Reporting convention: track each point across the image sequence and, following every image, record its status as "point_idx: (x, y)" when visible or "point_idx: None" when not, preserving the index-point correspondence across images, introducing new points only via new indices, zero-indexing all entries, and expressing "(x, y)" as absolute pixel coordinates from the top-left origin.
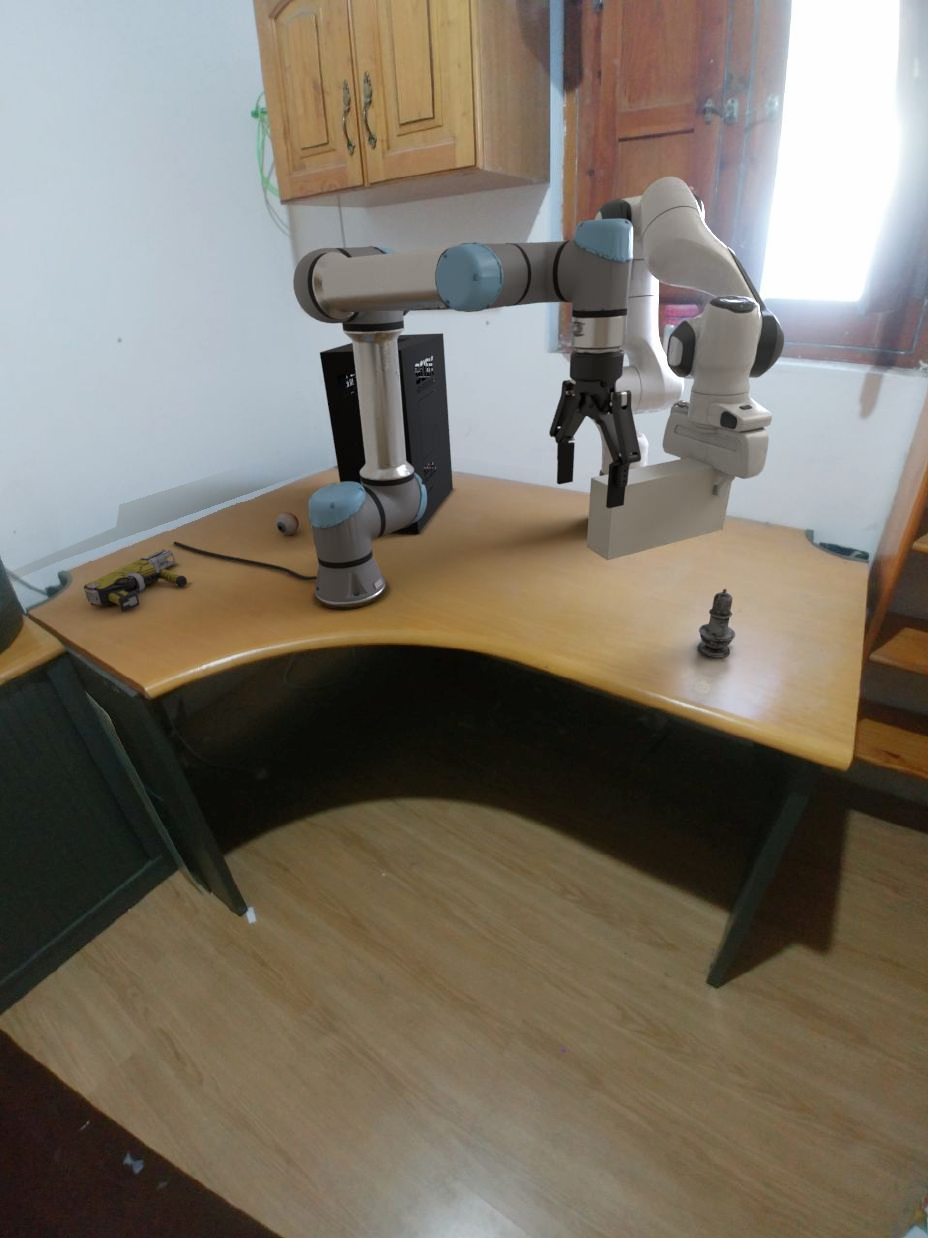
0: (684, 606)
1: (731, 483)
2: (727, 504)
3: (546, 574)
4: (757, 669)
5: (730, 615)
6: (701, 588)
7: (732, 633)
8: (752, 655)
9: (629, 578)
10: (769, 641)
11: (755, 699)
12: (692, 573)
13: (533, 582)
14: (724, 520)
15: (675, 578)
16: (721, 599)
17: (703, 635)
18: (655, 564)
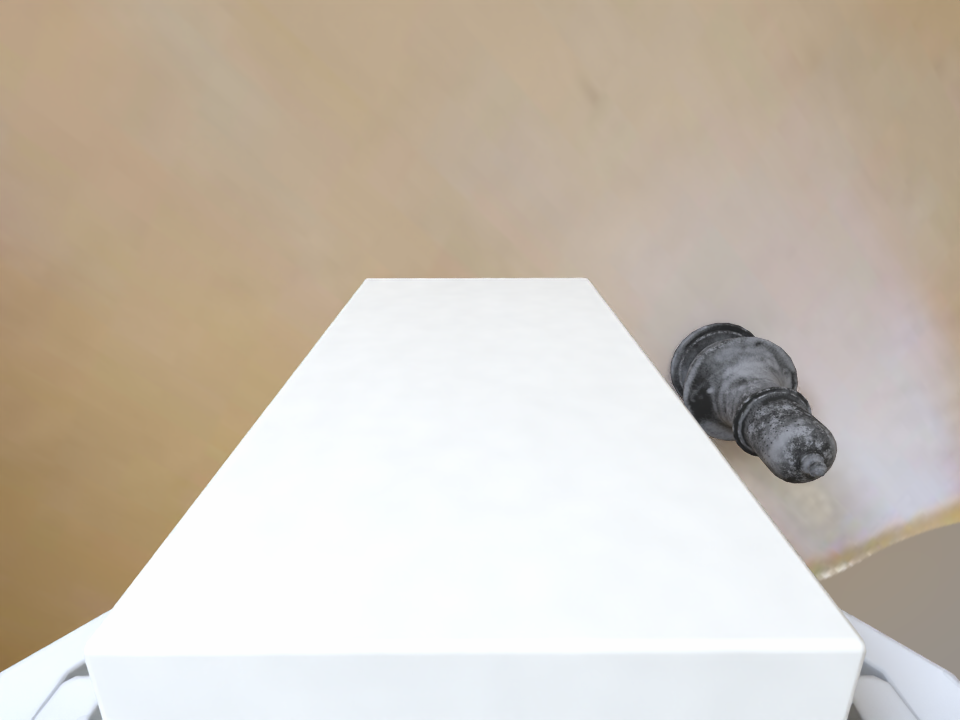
0: (462, 249)
1: (697, 422)
2: (629, 334)
3: (55, 495)
4: (857, 333)
5: (808, 410)
6: (377, 82)
7: (781, 361)
8: (805, 289)
9: (187, 274)
10: (791, 175)
11: (928, 437)
12: (243, 5)
13: (101, 554)
14: (599, 294)
15: (256, 112)
16: (814, 479)
17: (729, 440)
18: (102, 90)
